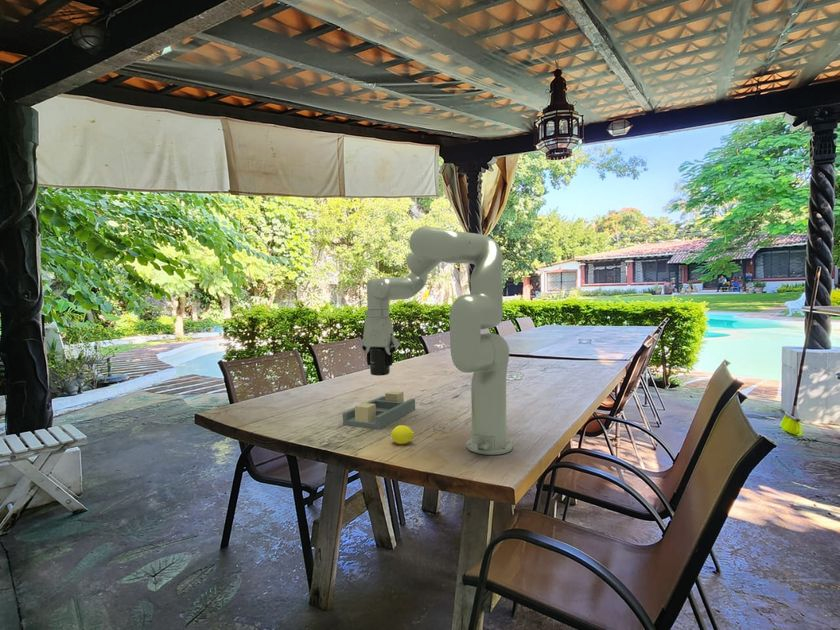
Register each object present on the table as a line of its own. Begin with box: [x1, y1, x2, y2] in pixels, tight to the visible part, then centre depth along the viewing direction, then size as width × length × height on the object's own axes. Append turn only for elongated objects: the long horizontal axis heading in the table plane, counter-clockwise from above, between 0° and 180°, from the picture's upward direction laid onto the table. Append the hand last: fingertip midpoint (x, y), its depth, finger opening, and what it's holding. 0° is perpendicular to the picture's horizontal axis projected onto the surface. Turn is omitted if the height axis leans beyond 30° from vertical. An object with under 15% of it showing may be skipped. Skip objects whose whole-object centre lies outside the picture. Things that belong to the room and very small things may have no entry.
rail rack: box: [342, 390, 416, 430], centre depth 156 cm, size 26×14×6 cm, turn 155°
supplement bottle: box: [369, 347, 391, 376], centre depth 156 cm, size 7×7×12 cm
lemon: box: [390, 424, 415, 445], centre depth 128 cm, size 7×5×5 cm
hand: (379, 364), depth 156 cm, fingers closed on supplement bottle, 6 cm apart
